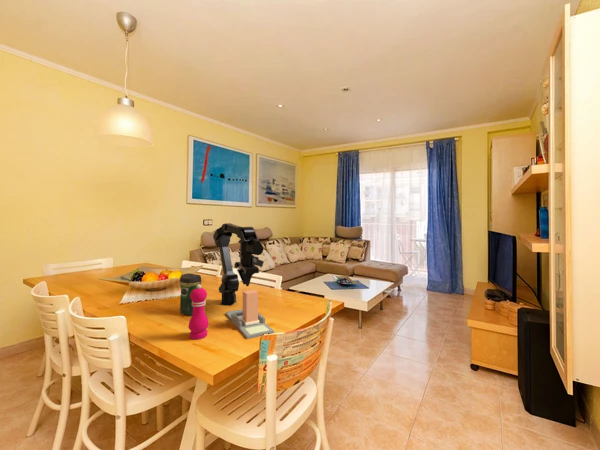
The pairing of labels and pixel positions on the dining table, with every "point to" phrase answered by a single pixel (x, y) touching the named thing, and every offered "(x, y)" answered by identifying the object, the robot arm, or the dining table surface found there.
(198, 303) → the pepper mill
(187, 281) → the coffee jar
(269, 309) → the dining table surface
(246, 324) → the salmon pink tall box
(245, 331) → the track
